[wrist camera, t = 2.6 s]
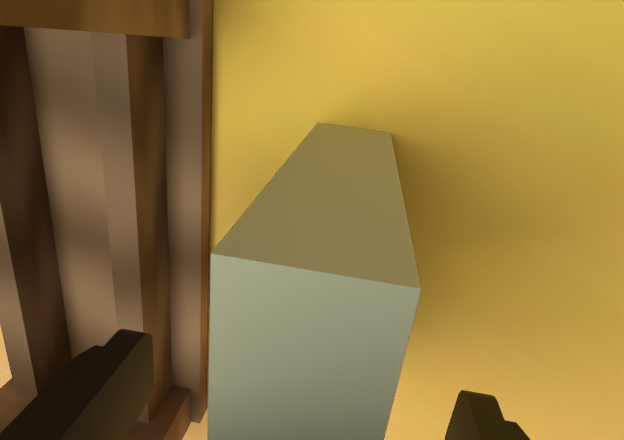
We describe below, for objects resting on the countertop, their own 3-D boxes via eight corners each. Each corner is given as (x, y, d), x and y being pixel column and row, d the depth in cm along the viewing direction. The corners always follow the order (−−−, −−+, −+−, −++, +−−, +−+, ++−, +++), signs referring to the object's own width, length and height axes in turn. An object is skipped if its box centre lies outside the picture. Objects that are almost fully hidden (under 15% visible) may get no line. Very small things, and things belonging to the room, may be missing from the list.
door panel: (293, 119, 17) (144, 241, 6) (390, 132, 17) (421, 289, 6) (275, 319, 21) (163, 616, 10) (353, 333, 21) (329, 657, 10)
